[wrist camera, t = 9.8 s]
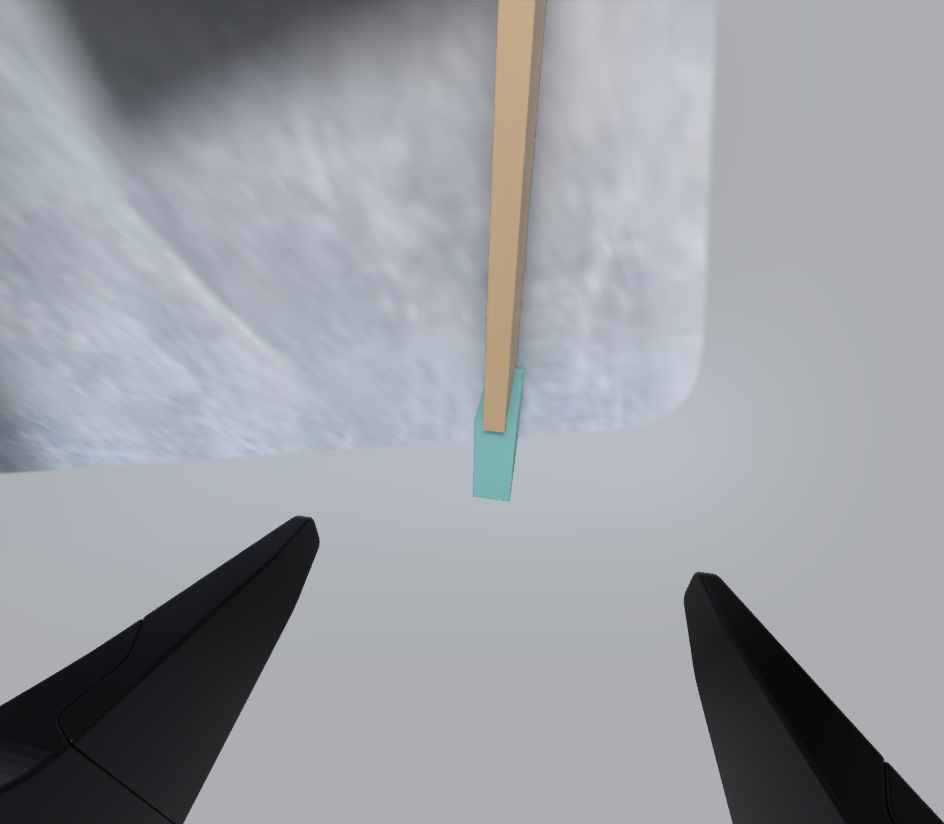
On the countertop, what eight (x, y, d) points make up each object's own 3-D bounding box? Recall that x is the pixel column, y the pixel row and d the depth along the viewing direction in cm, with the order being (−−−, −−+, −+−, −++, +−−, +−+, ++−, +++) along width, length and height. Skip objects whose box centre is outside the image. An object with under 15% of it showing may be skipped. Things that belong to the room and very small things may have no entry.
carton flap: (518, 431, 16) (508, 510, 13) (489, 427, 16) (470, 505, 13) (586, -295, 7) (620, -736, 4) (522, -286, 8) (493, -702, 4)
